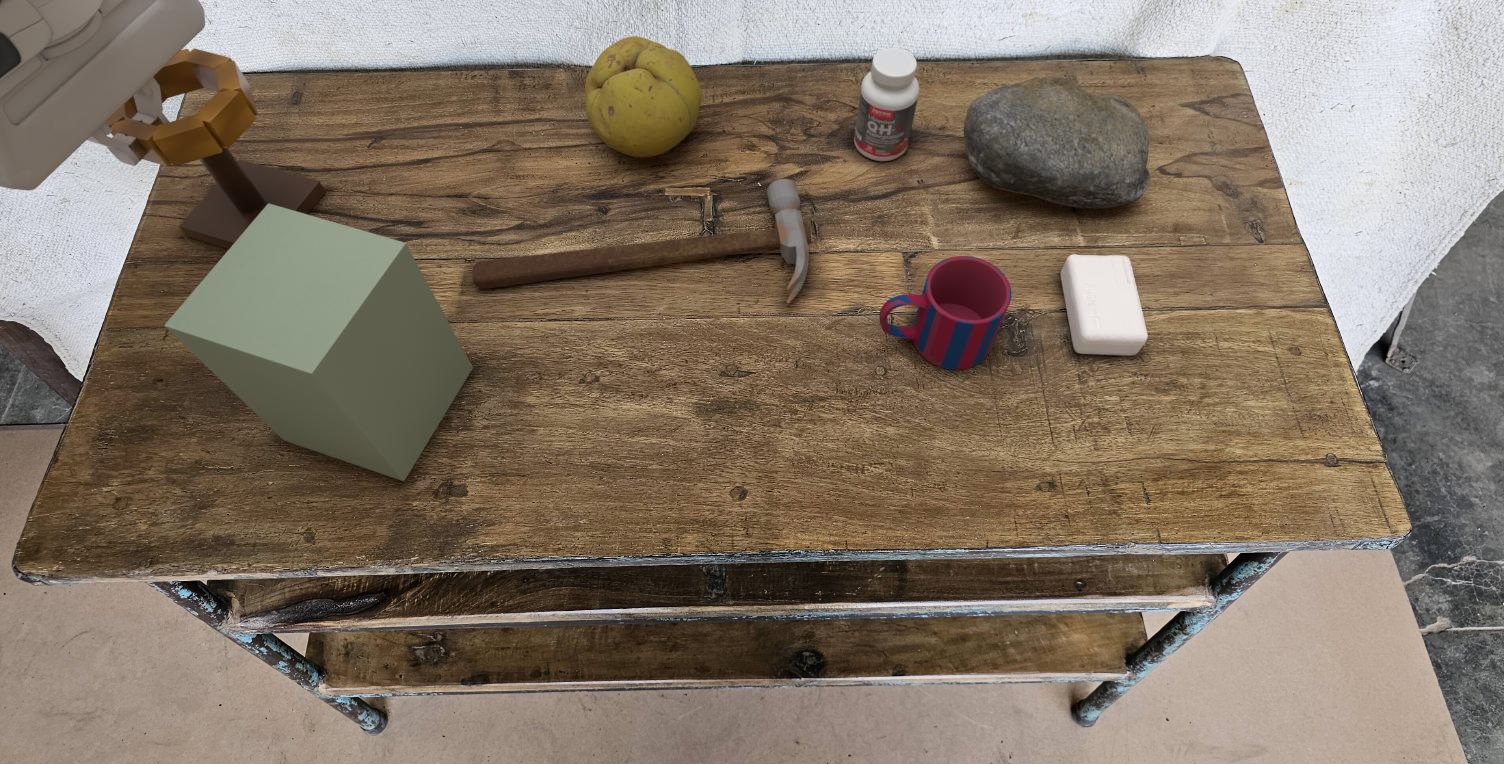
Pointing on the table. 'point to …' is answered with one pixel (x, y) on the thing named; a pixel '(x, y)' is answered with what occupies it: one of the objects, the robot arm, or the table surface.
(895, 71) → the pill bottle
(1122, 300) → the soap
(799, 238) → the hammer
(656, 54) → the fruit
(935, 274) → the cup
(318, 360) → the pedestal
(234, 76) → the ring
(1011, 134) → the stone
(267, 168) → the stand
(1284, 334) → the table surface
